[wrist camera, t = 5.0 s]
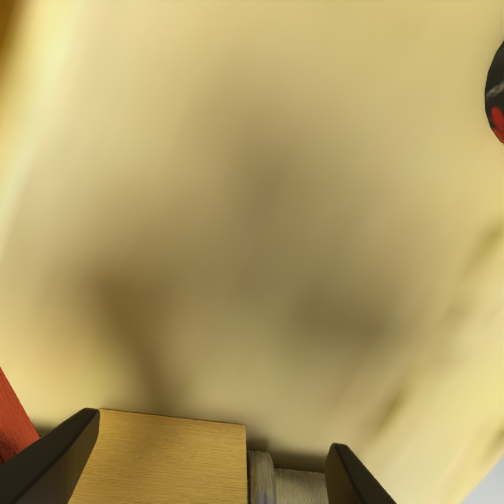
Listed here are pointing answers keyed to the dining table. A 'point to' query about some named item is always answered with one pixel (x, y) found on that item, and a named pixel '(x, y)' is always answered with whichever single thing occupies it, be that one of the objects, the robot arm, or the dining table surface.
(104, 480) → the valve
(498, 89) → the deodorant
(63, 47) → the dining table surface
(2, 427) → the lever
